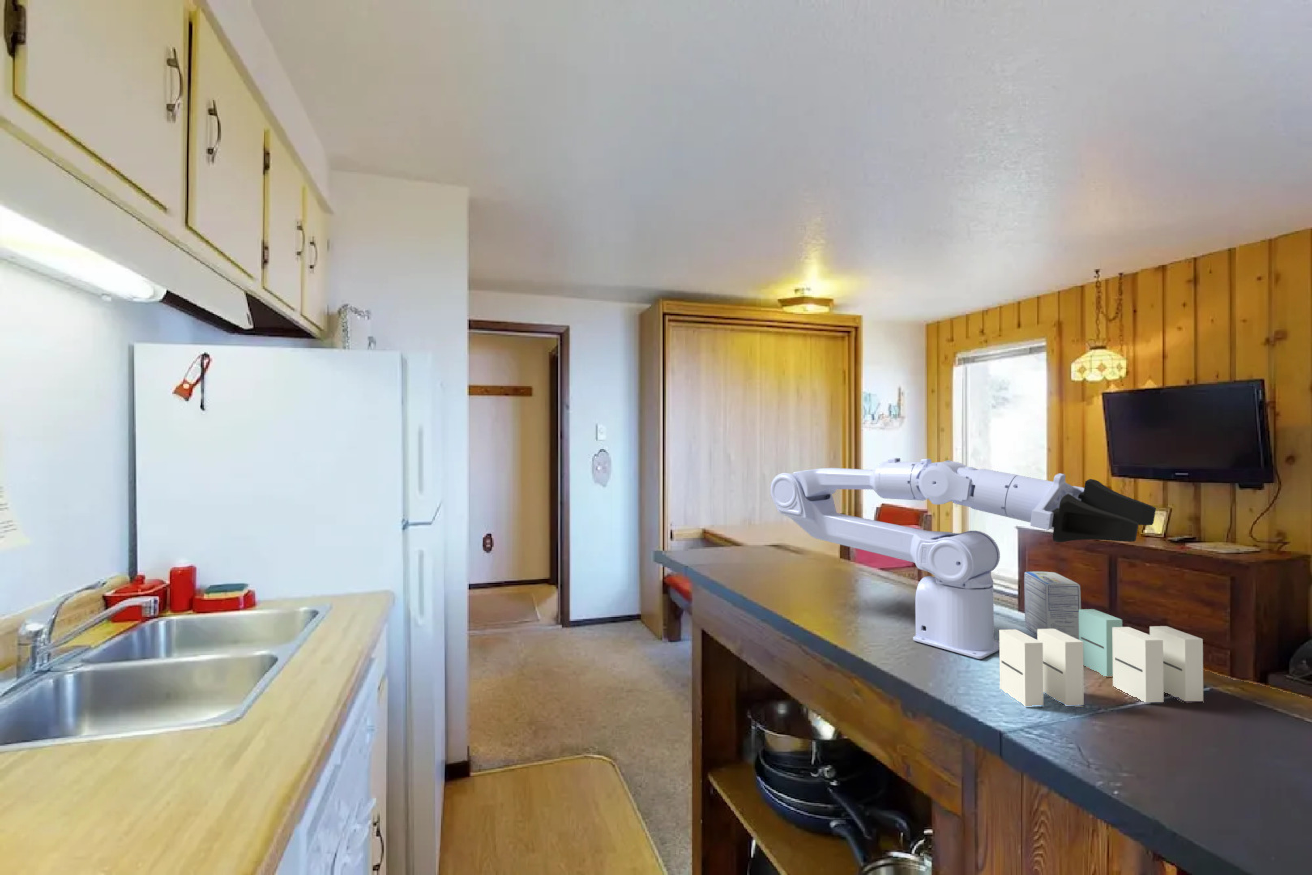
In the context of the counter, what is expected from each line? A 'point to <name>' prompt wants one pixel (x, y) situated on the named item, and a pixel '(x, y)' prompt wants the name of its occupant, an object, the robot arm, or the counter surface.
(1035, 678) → the domino
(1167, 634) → the domino
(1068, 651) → the domino
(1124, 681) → the domino
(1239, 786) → the counter surface
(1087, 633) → the domino
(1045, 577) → the medicine box
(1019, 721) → the counter surface
